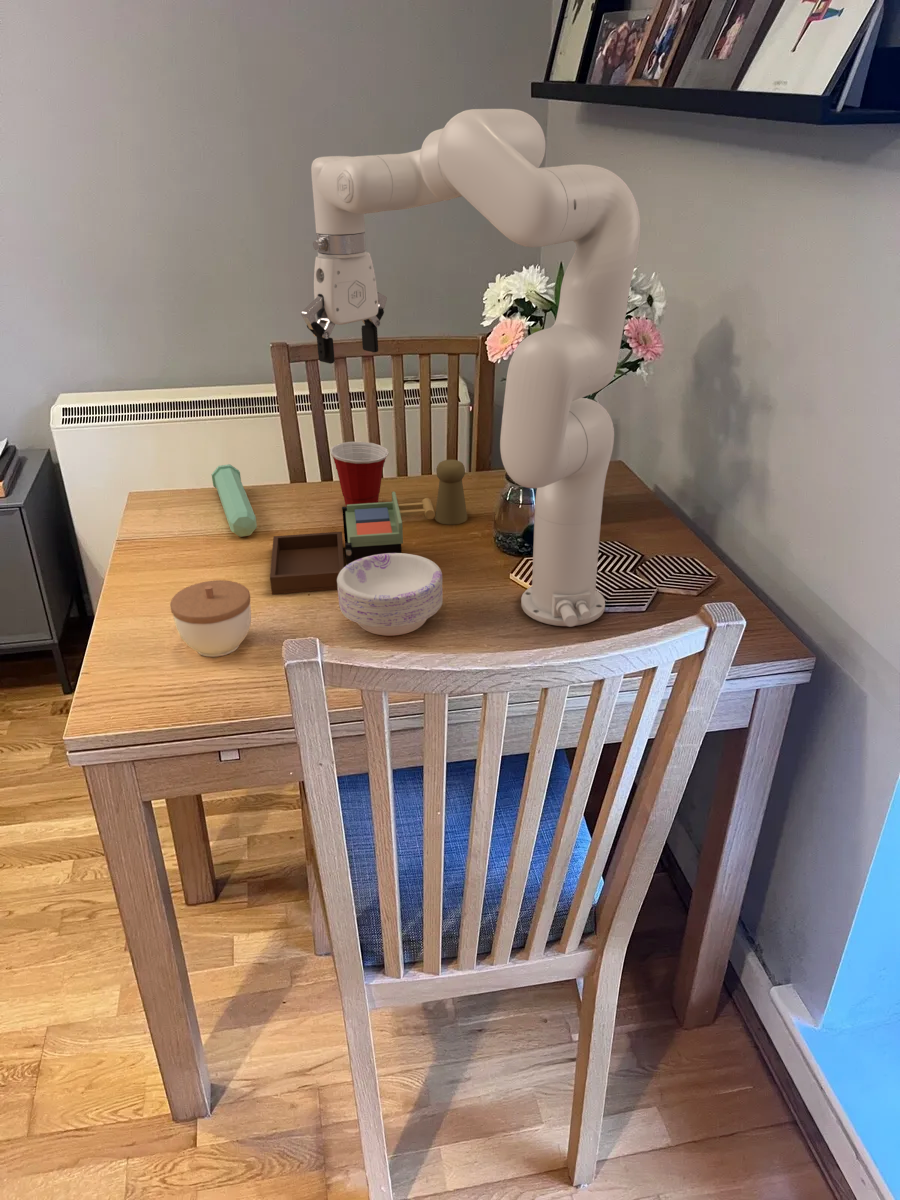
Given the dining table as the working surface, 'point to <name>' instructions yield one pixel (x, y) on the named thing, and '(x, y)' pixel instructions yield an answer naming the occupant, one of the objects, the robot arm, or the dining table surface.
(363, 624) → the paper bowls
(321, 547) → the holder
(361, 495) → the plastic cup
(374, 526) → the coral sachet
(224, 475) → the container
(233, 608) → the trinket box
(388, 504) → the green handled tray
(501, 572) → the dining table surface
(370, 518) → the blue sachet
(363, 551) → the stand
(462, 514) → the pepper mill
